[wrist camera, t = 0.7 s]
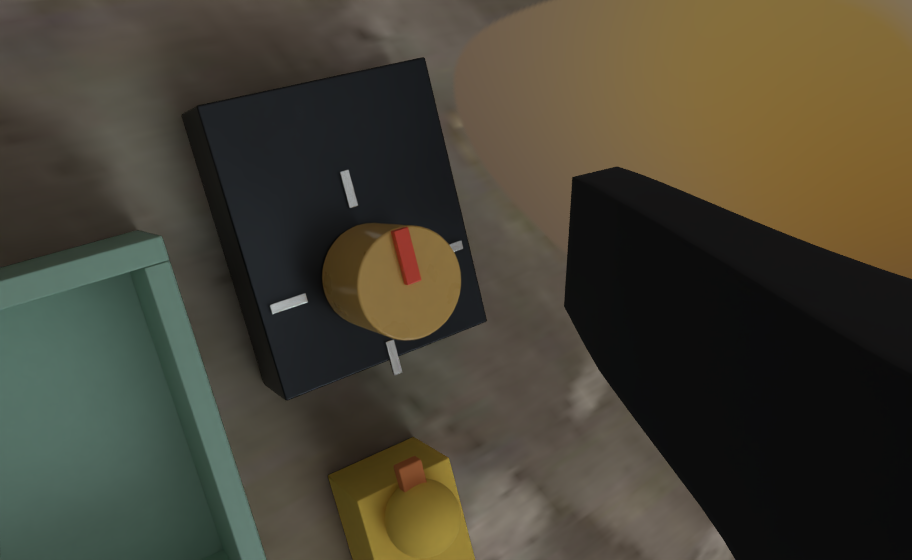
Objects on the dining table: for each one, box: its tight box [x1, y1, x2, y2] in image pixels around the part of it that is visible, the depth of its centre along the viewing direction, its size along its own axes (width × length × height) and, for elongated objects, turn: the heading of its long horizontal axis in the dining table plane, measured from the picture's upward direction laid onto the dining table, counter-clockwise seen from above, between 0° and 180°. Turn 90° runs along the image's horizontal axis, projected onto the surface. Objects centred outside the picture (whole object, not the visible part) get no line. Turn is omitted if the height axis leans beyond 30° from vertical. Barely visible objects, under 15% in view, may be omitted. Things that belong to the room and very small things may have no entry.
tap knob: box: [322, 223, 461, 340], centre depth 29 cm, size 4×4×4 cm
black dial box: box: [182, 57, 487, 400], centre depth 32 cm, size 12×9×3 cm
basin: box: [0, 230, 267, 560], centre depth 26 cm, size 14×14×6 cm
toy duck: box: [328, 437, 475, 560], centre depth 33 cm, size 7×4×6 cm, turn 16°
